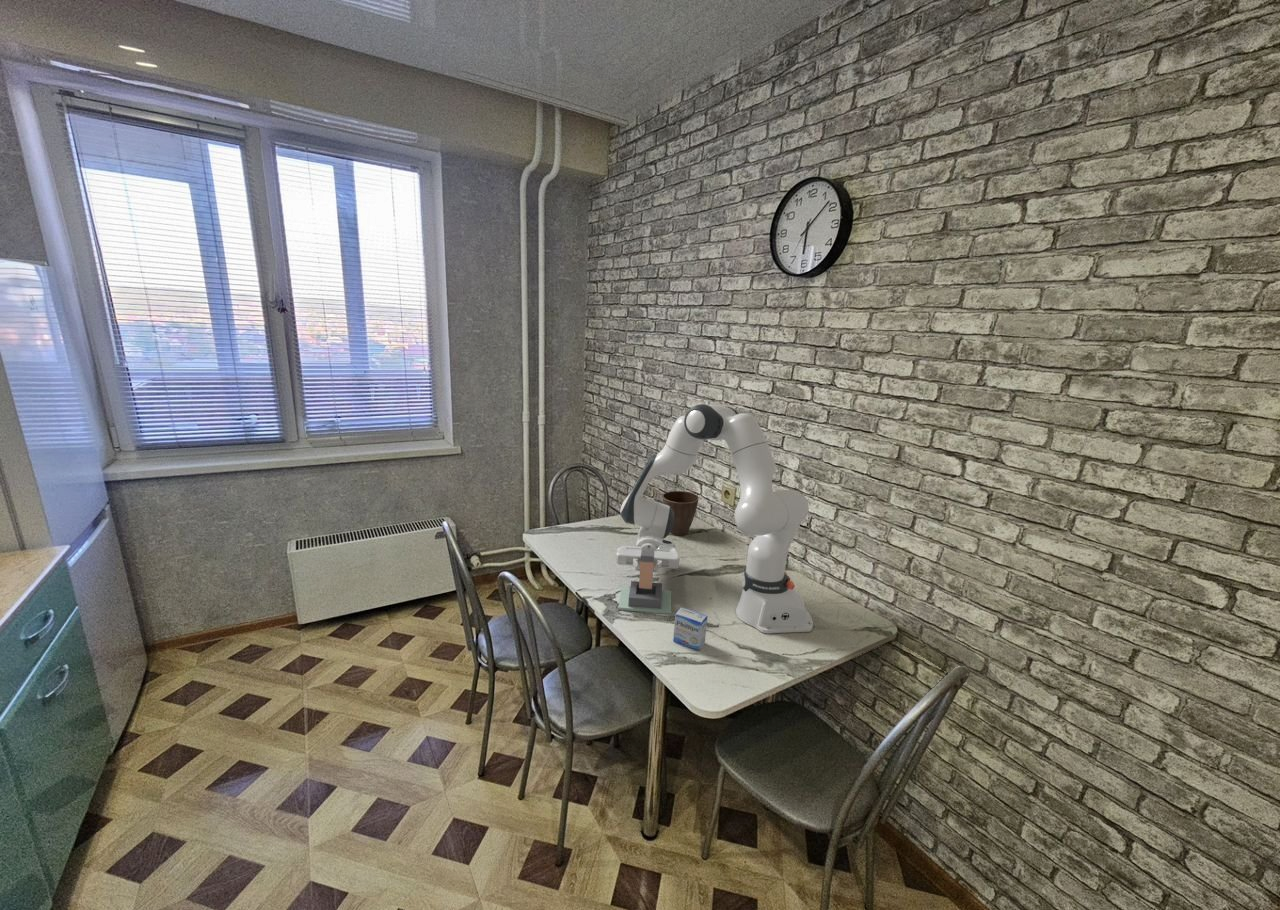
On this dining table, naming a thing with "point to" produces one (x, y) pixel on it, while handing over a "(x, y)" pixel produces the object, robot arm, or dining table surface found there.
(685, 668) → the dining table surface
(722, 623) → the dining table surface
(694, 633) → the medicine box
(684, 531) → the plant pot
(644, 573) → the plug
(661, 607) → the board
